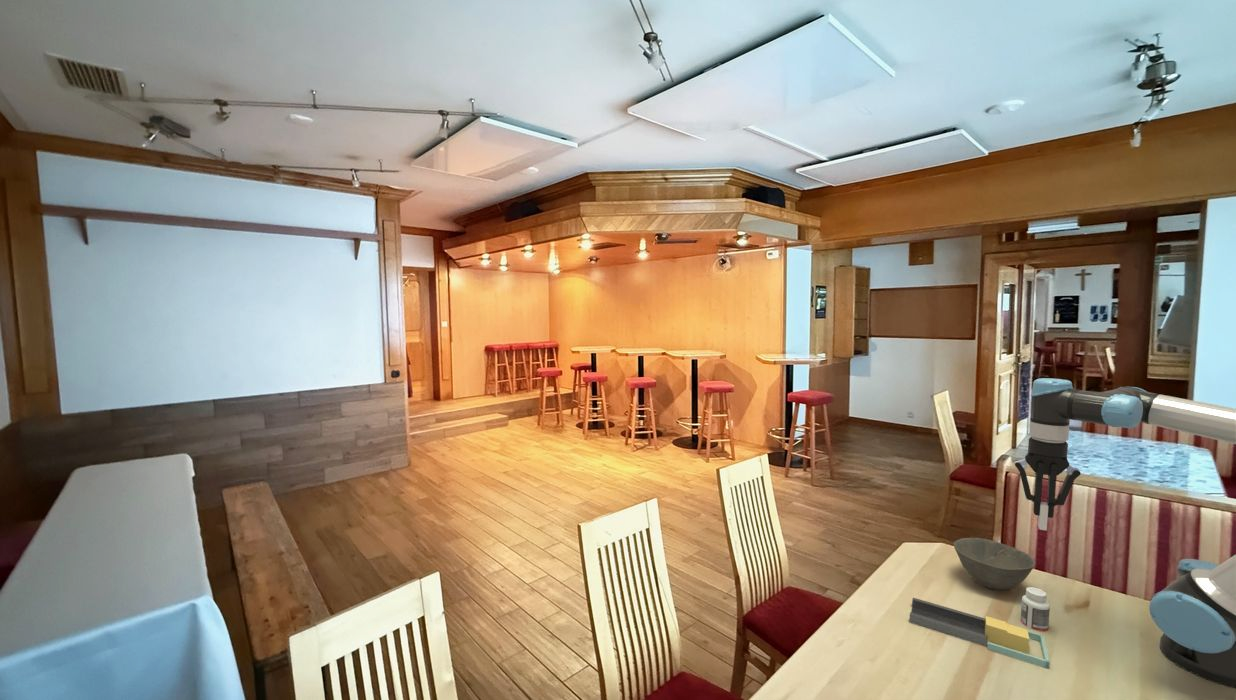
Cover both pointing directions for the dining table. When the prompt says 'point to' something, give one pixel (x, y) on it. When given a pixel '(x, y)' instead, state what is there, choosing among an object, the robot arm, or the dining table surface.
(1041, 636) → the tray
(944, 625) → the slot rail
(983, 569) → the bowl
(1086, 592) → the dining table surface
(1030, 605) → the pill bottle
